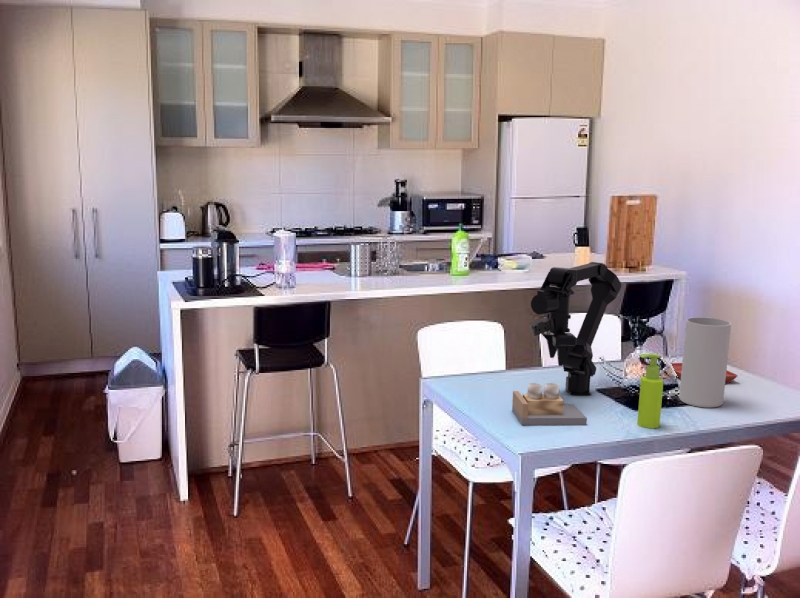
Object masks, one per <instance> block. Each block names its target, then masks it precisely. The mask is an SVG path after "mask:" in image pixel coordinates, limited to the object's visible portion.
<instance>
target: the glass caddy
mask: <svg viewBox="0 0 800 600" xmlns="http://www.w3.org/2000/svg"><path fill="white" fill-rule="evenodd" d="M522 396H523V398H524V399H525V400H526V402H527V403H528V415H560V414H563V404H564V400H563V398H562V397H561V396H560V384H558V383H553V382H551V383H550V382H548V383H545V384H544V393H543V384H541V383H536V382H531V383H528V384H527V393H523V394H522Z"/></svg>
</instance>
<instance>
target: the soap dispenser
mask: <svg viewBox="0 0 800 600" xmlns="http://www.w3.org/2000/svg"><path fill="white" fill-rule="evenodd" d="M638 356H639V357H640V358H642V359H644V358H645V359H646V358H650V363H649V364H648V365H646V369H645V370H646V371H645V372H646V373H645V376H641V377H640V385H639V386H640V387H639V399H638V409H637V425H638V426H639V427H641V428H642V427H643V428H646V429H657V428H659V427H660V426H661V414H662V405H663V404H662V401H663V391H664V379H663V378H661V377H660V370H661V367H660V366H659V365H658V359H659V358H661V355H660V354H658V353H642V354H638Z"/></svg>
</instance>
